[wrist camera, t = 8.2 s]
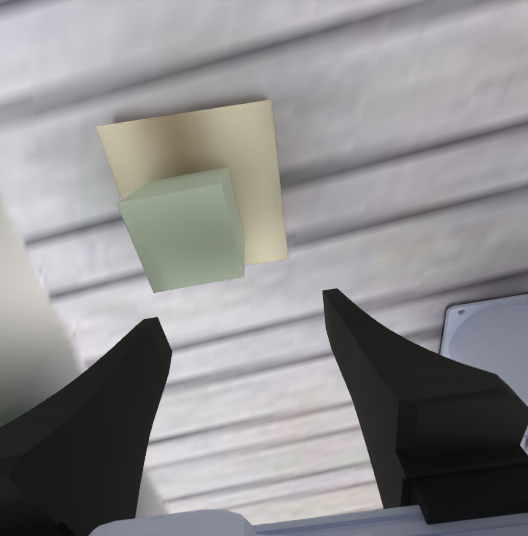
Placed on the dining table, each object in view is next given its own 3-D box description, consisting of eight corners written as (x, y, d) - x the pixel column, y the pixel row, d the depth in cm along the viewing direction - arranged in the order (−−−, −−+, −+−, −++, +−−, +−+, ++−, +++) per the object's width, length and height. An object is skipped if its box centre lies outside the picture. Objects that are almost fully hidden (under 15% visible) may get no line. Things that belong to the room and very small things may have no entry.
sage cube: (228, 166, 16) (221, 183, 12) (245, 241, 18) (244, 276, 14) (148, 181, 17) (116, 203, 13) (174, 254, 19) (153, 292, 15)
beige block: (267, 100, 18) (271, 99, 15) (283, 240, 22) (288, 259, 19) (118, 123, 18) (95, 126, 15) (162, 258, 22) (150, 278, 19)
